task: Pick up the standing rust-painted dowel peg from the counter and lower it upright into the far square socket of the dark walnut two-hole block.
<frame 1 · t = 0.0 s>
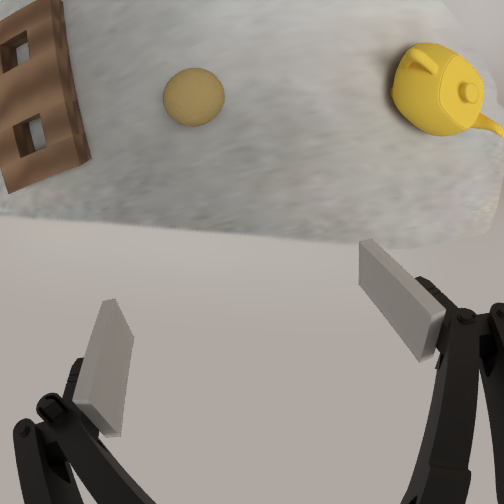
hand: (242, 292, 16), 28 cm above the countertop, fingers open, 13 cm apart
hole block: (35, 92, 31), on the countertop
teapot: (419, 90, 40), on the countertop
light bulb: (194, 98, 36), on the countertop
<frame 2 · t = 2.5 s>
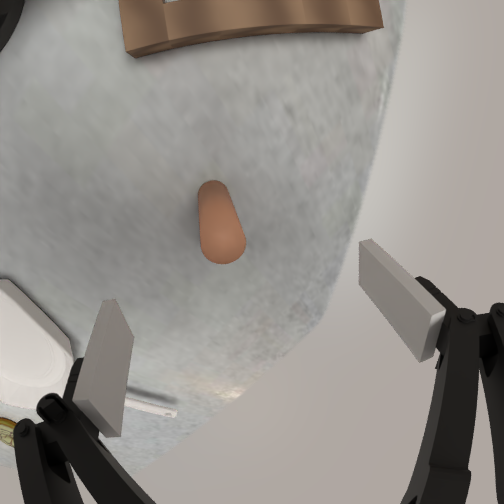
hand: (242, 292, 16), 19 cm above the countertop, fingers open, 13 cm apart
pan: (53, 357, 39), on the countertop
peg: (213, 195, 33), on the countertop
decorated donut: (14, 428, 47), on the countertop
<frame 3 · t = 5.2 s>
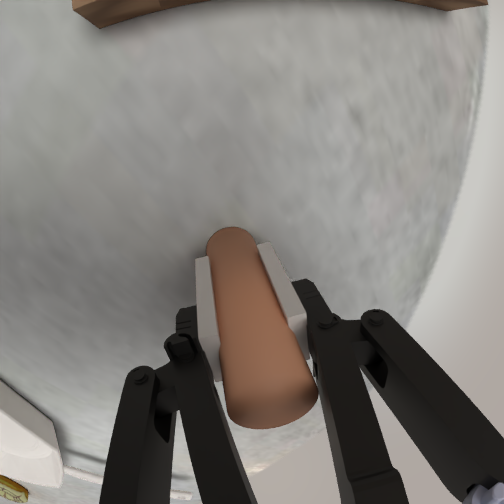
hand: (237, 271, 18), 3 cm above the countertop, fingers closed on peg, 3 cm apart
pan: (38, 433, 28), on the countertop
peg: (231, 250, 21), on the countertop, touching gripper
decorated donut: (6, 480, 35), on the countertop
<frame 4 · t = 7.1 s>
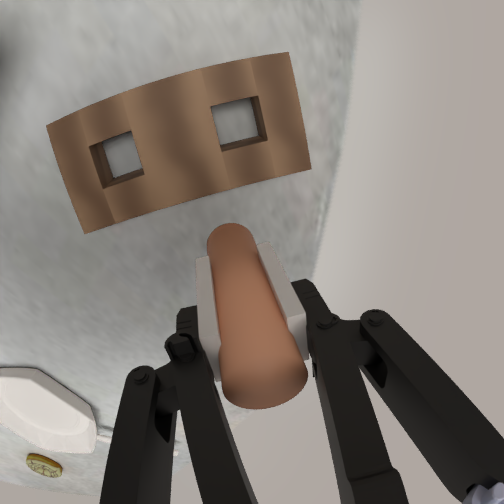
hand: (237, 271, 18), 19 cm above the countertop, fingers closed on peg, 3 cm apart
hole block: (178, 135, 31), on the countertop
pan: (78, 415, 49), on the countertop
peg: (230, 245, 22), point 15 cm above the countertop, touching gripper
decorated donut: (45, 460, 57), on the countertop
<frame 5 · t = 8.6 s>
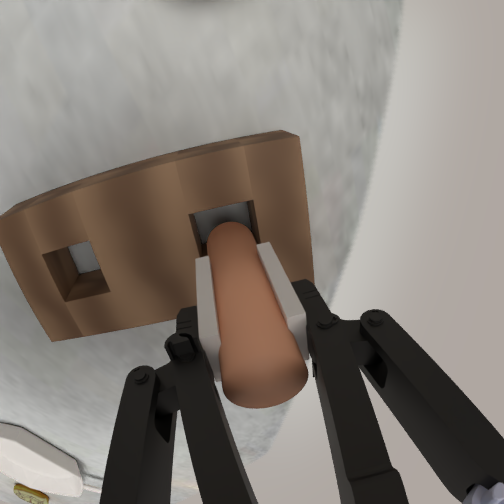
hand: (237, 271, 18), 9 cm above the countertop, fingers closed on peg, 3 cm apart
hole block: (152, 231, 26), on the countertop
pan: (64, 464, 43), on the countertop
peg: (230, 244, 22), point 6 cm above the countertop, touching gripper
decorated donut: (31, 489, 50), on the countertop
when the fingers open (6 cm above the countertop, at t = 9.5 s): peg drops 2 cm, resting in hole block.
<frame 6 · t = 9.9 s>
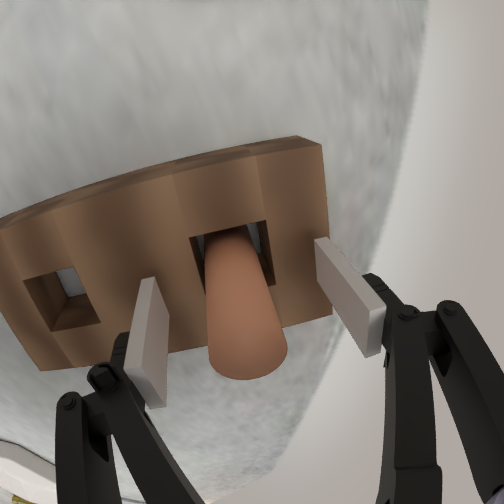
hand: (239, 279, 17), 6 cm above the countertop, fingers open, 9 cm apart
hole block: (147, 251, 23), on the countertop
pan: (63, 480, 40), on the countertop
peg: (226, 234, 23), resting in hole block
decorated donut: (30, 500, 47), on the countertop
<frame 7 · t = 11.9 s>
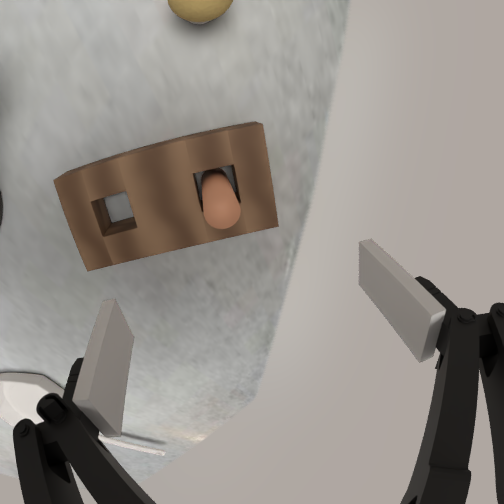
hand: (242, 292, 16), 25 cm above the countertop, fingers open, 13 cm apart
hole block: (167, 190, 37), on the countertop
pan: (77, 416, 55), on the countertop
peg: (214, 179, 38), resting in hole block
light bulb: (199, 12, 28), on the countertop
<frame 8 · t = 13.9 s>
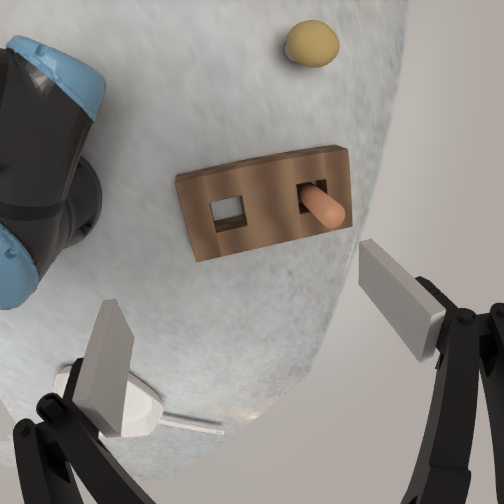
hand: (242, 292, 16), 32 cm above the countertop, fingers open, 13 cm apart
hole block: (265, 195, 47), on the countertop
pan: (141, 403, 65), on the countertop
peg: (302, 188, 48), resting in hole block
light bulb: (295, 51, 38), on the countertop
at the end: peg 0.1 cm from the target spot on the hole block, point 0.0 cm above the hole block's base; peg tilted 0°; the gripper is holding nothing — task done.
